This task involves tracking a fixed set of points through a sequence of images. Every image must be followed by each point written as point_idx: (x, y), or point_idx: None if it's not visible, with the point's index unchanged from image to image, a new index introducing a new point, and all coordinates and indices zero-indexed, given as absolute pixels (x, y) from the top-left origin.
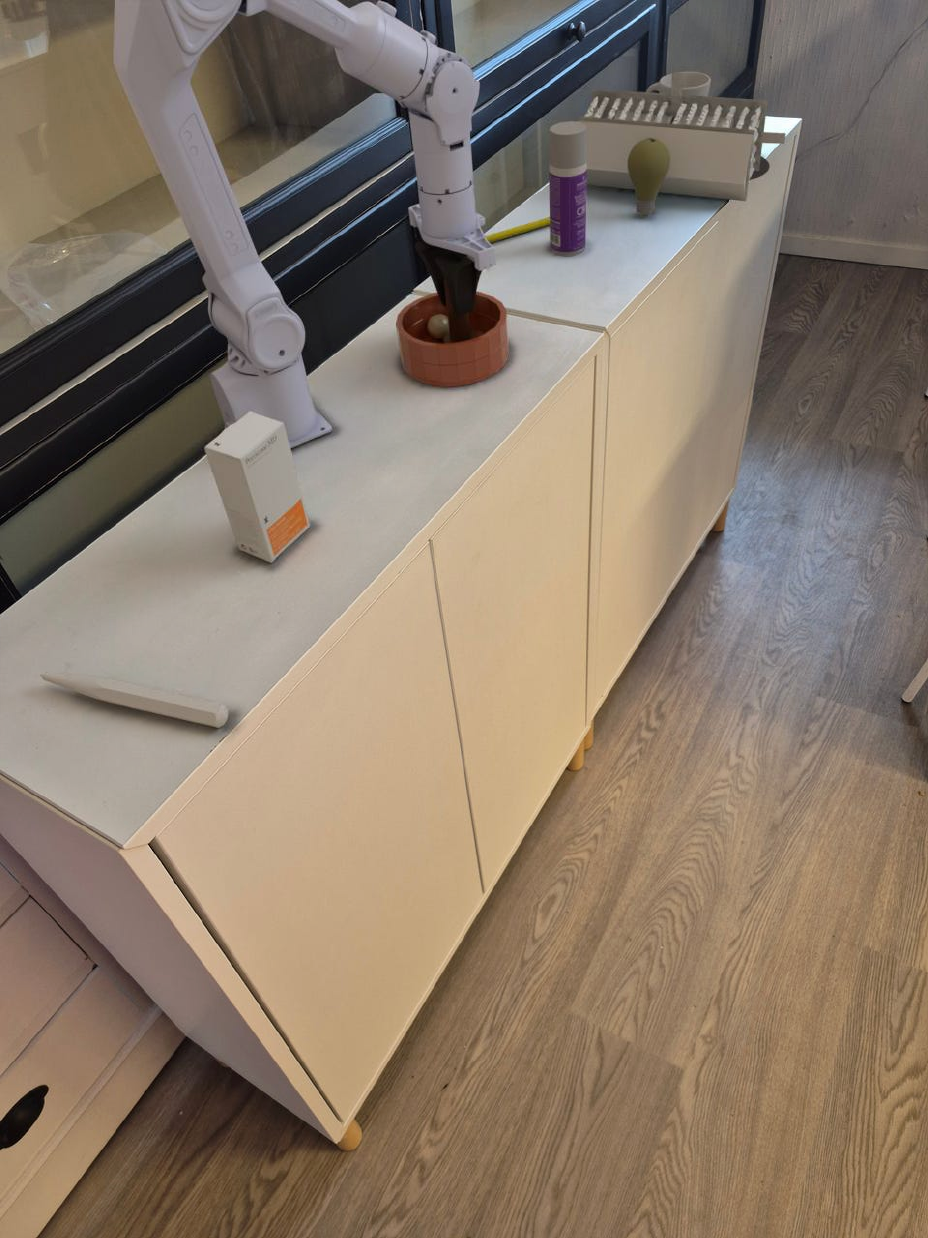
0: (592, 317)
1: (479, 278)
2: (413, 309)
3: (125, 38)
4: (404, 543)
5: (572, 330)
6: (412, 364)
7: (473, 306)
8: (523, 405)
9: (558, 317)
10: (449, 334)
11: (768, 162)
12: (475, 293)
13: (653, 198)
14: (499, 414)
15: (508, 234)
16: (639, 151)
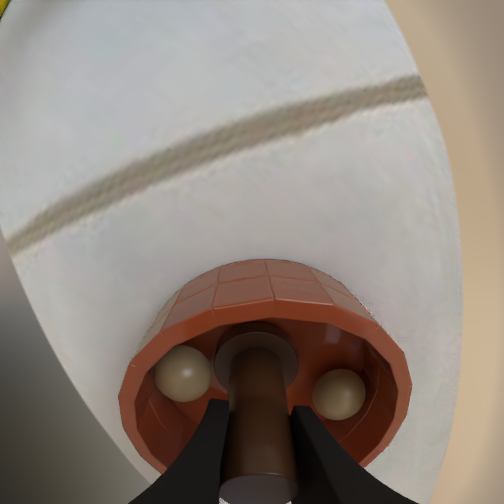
0: (375, 52)
1: (368, 472)
2: (149, 440)
3: None
4: (431, 495)
5: (387, 118)
6: None
7: (315, 413)
8: (451, 361)
9: (321, 90)
10: (225, 375)
11: None
12: (334, 438)
13: None
14: (432, 396)
15: (5, 1)
16: None
